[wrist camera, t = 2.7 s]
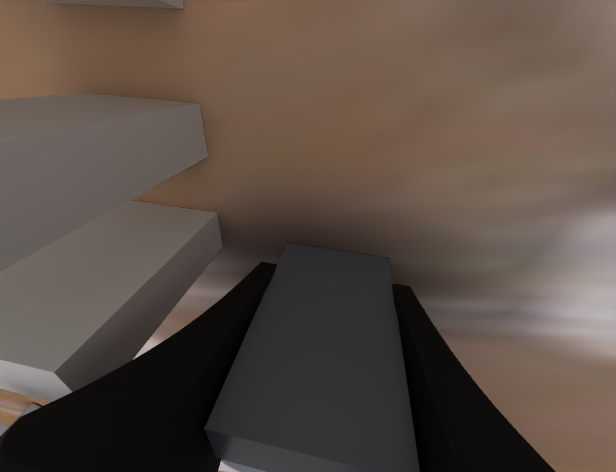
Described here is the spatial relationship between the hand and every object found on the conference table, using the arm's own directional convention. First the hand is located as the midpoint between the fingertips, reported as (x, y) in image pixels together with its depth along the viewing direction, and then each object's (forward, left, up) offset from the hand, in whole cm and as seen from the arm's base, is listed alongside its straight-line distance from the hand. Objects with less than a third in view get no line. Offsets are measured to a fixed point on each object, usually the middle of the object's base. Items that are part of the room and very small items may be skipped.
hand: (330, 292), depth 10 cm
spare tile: (0, 0, -2) cm, 2 cm away
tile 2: (+1, +8, -2) cm, 8 cm away
